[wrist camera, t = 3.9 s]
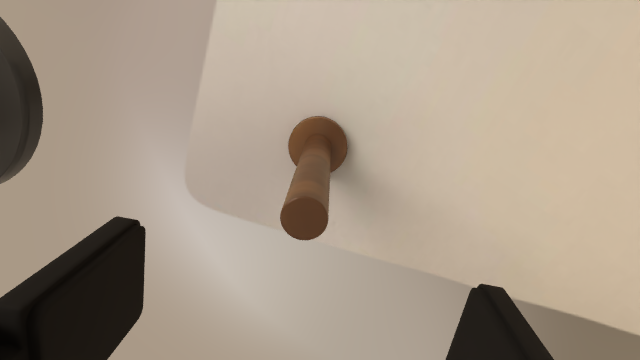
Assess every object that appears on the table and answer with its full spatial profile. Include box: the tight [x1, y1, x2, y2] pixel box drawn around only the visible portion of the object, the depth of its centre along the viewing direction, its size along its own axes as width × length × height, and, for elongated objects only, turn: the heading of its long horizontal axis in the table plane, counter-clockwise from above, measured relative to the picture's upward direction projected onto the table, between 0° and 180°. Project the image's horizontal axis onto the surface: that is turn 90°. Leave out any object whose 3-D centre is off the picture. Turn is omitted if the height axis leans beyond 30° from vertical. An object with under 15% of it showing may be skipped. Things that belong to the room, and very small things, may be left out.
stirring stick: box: [280, 116, 347, 240], centre depth 22 cm, size 4×4×14 cm
